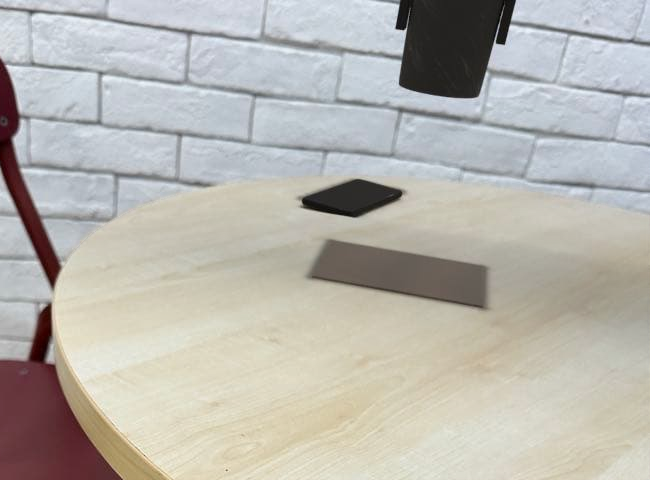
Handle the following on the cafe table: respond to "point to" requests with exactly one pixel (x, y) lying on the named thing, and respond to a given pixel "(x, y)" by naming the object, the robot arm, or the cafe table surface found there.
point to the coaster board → (402, 273)
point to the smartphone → (352, 198)
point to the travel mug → (449, 46)
